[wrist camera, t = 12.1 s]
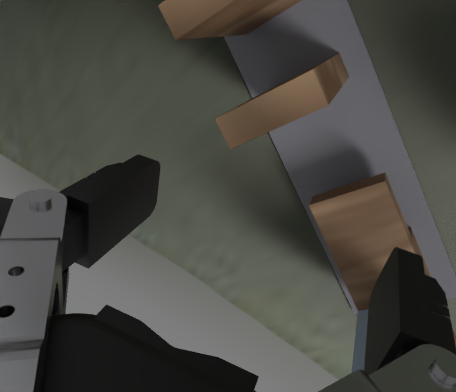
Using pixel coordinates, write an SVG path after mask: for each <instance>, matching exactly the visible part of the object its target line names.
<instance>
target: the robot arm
mask: <svg viewBox="0 0 456 392" xmlns="http://www.w3.org/2000/svg"><path fill="white" fill-rule="evenodd" d="M159 175H160V163H159V162H158V161H156V160H153V159H150V158H147V157H144V156H142V155H136V156H134V157H132V158H131V159H129V160H127V161H125V162H124V163H117V164H112V165H108V166H105V167H103V168H102V169H100V170H98V171H96V173H93V174H91V175H89V176H87V178H84V179H82V180H80V181H78V182H76V183H74V184H73V185H71V186H69V187H67V188H65V189H64V190H62V191H60V192H57V191H53V190H46V189H38V190H32V191H27V192H24V193H22V194H20V195H18V196H17V197H16V198H15V199H8V198H2V197H0V392H256V391H255V390H254V388H255V385H256V383H257V380H258V376H256V375H255V374H252V373H250V372H248V371H246V370H244V369H242V368H240V367H238V366H236V365H233V364H231V363H229V362H227V361H225V360H223V359H220V358H218V357H214V356H210V355H205V354H200V353H196V352H192V351H187V350H182V349H178V348H175V347H173V346H171V345H169V344H168V343H167V342H166V341H165V340H163V339H162V338H161V337H160V336H159V335H157V334H156V333H155V332H154V331H153V330H151V329H150V328H149V327H148V326H147V325H145V324H144V323H143V322H142V321H140V320H138V319H136V318H134V317H132V316H130V315H127V314H125V313H123V312H121V311H119V310H116V309H115V308H113V307H110V306H108V305H106V306H105V307H104V308H103V309H102V310H101V311H100V312H99V313H98V314H97V315H92V314H80V313H79V314H78V313H75V314H74V313H73V314H65V313H66V303H67V293H68V282H69V266H71V265H72V264H73V263H74V262H75V263H78V264H80V265H82V266H84V267H86V268H89V267H91V266H92V265H93V264H94V263H95V262H97V261H98V260H99V259H100V258H101V257H102V256H104V255H105V254H106V253H107V252H108V251H109V250H111V249H112V248H113V247H114V246H115V245H116V244H117V243H119V242H120V241H121V240H122V239H123V238H125V237H126V236H127V235H128V234H129V233H130V232H132V231H133V230H134V229H135V228H136V227H137V226H139V225H140V224H141V223H142V222H143V221H144V220H146V219H147V218H148V217H149V216H150V215H151V213H152V212H153V210H154V208H155V205H156V202H157V194H158V185H159ZM447 307H448V304H447V299H446V294H445V292H444V290H443V289H442V287H441V286H440V285H439V283H438V282H437V280H436V279H435V278H432V277H430V276H427V275H425V272H424V264H423V258H422V256H421V255H418V254H415V253H412V252H409V251H407V250H404V249H401V248H398V247H395V248H394V249H393V250H392V252H391V254H390V256H389V258H388V260H387V262H386V264H385V266H384V268H383V269H382V271H381V273H380V275H379V277H378V279H377V281H376V283H375V285H374V287H373V290H372V293H371V296H370V300H369V307H368V321H367V335H366V349H365V364H364V371H363V370H357V371H355V372H353V373H351V374H349V375H347V376H345V377H344V378H342V379H340V380H338V381H337V382H335V383H333V384H331V385H329V386H328V387H326V388H324V389H322V390H321V391H319V392H456V345H455V340H454V335H453V330H452V325H451V320H450V319H449V318H450V315H449V309H448V308H447Z"/></svg>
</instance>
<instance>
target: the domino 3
mask: <svg viewBox="0 0 456 392" xmlns="http://www.w3.org/2000/svg"><path fill="white" fill-rule="evenodd" d="M309 207H310V209H311V211H312V214H313V216H314V218H315V220H316V222H317V224H318V226H319V229H320V231H321V233H322V235H323V237H324V239H325V241H326V244H327V246H328V248H329V250H330V252H331V254H332V256H333V259H334V261H335V263H336V265H337V267H338V269H339V271H340V274H341V276H342V278H343V280H344V282H345V284H346V286H347V289H348V291H349V293H350V295H351V297H352V299H353V301H354V304H355V306H356V308H357V310H358V311H361V310H367V309H368V307H369V300H370V296H371V293H372V290H373V287H374V285H375V283H376V281H377V279H378V277H379V275H380V273H381V271H382V269H383V268H384V266H385V264H386V262H387V260H388V258H389V256H390V254H391V252H392V250H393V249H394V248H395V247H398V248H401V249H404V250H407V251H409V252H412V253H415V254H418V255H419V253H418V251H417V249H416V246H415V244H414V241H413V239H412V236H411V234H410V232H409V229H408V227H407V224H406V222H405V219H404V217H403V214H402V212H401V210H400V207H399V205H398V202H397V200H396V197H395V195H394V192H393V190H392V188H391V185H390V183H389V180H388V178H387V175H386V173H382V174H378V175H375V176H372V177H369V178H366V179H363V180H360V181H357V182H354V183H351V184H348V185H345V186H342V187H339V188H336V189H333V190H330V191H327V192H324V193H321V194H318V195H315V196H313V197H312V199H311V201H310V204H309ZM424 272H425V275H427V273H426V271H425V268H424ZM427 276H428V275H427Z"/></svg>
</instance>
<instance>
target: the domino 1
mask: <svg viewBox="0 0 456 392" xmlns="http://www.w3.org/2000/svg"><path fill="white" fill-rule="evenodd" d="M300 1H302V0H165V1H164V2H162V3H161V4H160V5H158V6H159V8H160V10H161V12H162V14H163V16H164V18H165V20H166V22H167V24H168V26H169V28H170V30H171V32H172V34H173V36H174V38H175V40H184V39H196V38H209V37H221V36H234V35H246V34H248V33H249V32H251V31H253V30H254V29H256V28H257V27H259V26H261V25H262V24H264V23H266V22H267V21H269V20H271V19H272V18H274V17H275V16H277V15H279V14H280V13H282V12H284V11H285V10H287V9H289V8H290V7H292V6H293V5H295V4H297V3H298V2H300Z"/></svg>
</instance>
